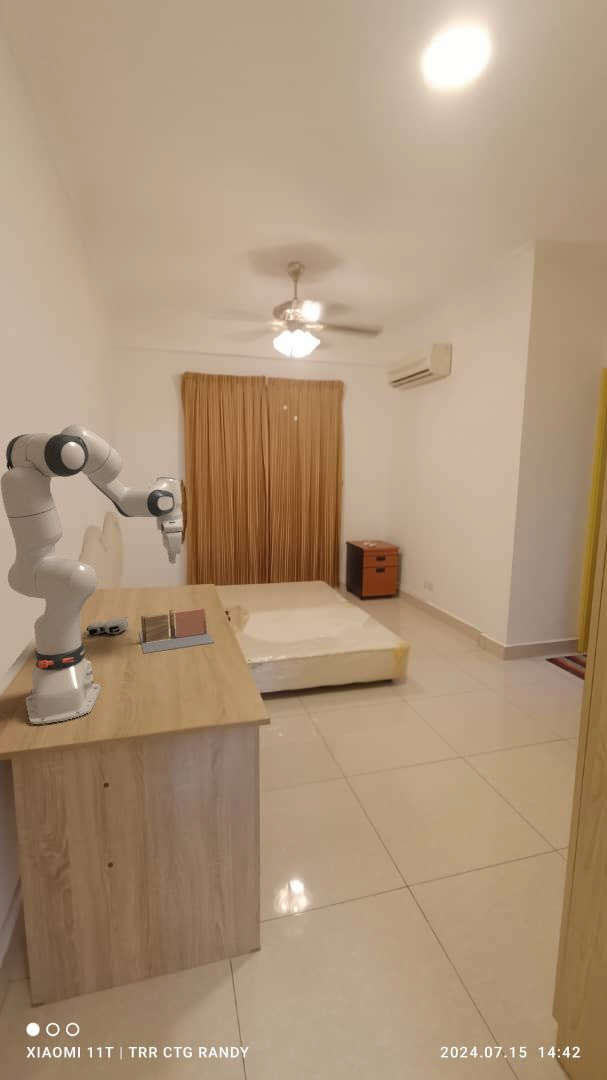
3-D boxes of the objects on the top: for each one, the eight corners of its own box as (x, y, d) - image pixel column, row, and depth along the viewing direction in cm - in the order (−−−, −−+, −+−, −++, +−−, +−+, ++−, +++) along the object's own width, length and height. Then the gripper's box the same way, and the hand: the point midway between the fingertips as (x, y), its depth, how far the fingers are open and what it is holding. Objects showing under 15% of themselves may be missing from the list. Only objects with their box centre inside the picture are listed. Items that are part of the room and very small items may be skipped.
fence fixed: (175, 639, 175) (174, 610, 173) (143, 644, 170) (141, 614, 168) (174, 638, 176) (173, 609, 174) (142, 642, 172) (140, 613, 170)
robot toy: (84, 642, 176) (126, 635, 179) (82, 630, 175) (124, 624, 178) (91, 631, 187) (131, 625, 190) (89, 620, 187) (129, 614, 190)
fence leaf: (206, 633, 179) (205, 608, 178) (177, 638, 175) (175, 612, 173) (206, 632, 180) (205, 607, 179) (176, 637, 176) (175, 611, 174)
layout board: (214, 642, 171) (213, 641, 171) (144, 653, 162) (143, 652, 162) (202, 624, 191) (202, 623, 191) (139, 633, 182) (139, 632, 182)
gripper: (157, 521, 175) (159, 558, 177) (164, 527, 156) (166, 568, 159) (175, 520, 177) (177, 556, 180) (183, 526, 159) (185, 567, 161)
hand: (172, 562), depth 169 cm, fingers closed
